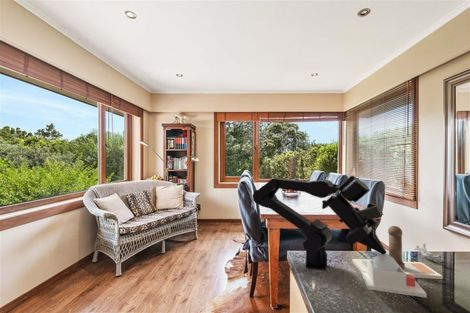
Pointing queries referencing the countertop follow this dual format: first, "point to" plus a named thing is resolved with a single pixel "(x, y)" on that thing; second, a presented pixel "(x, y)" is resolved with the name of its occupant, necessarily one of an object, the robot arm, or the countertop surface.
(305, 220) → the robot arm
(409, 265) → the game track
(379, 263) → the dome
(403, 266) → the pawn
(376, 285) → the base
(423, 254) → the soldier figure
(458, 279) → the countertop surface
